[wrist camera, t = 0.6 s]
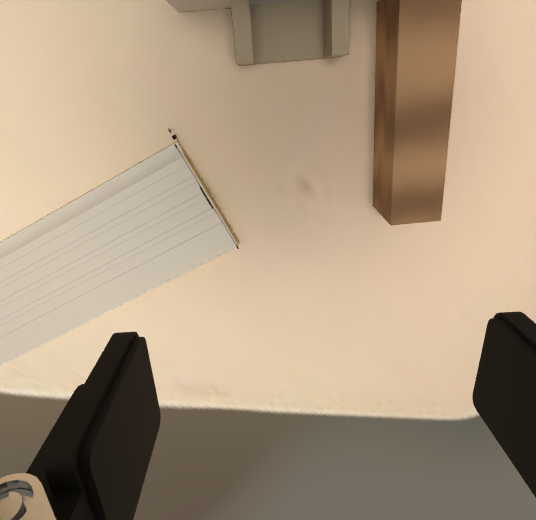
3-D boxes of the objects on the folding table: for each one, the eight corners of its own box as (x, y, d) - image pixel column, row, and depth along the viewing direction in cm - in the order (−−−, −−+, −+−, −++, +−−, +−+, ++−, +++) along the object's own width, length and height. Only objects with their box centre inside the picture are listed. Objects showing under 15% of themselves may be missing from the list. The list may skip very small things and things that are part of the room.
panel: (176, -7, 29) (116, -73, 17) (392, -26, 29) (499, -106, 17) (187, 69, 31) (142, 63, 19) (389, 52, 31) (481, 34, 19)
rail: (376, 2, 30) (400, -13, 25) (428, -3, 30) (463, -19, 25) (372, 205, 37) (390, 225, 32) (415, 201, 37) (440, 220, 32)
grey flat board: (-97, 278, 39) (-8, 364, 43) (-123, 293, 36) (-24, 382, 41) (170, 123, 34) (239, 239, 38) (163, 127, 31) (238, 251, 36)
